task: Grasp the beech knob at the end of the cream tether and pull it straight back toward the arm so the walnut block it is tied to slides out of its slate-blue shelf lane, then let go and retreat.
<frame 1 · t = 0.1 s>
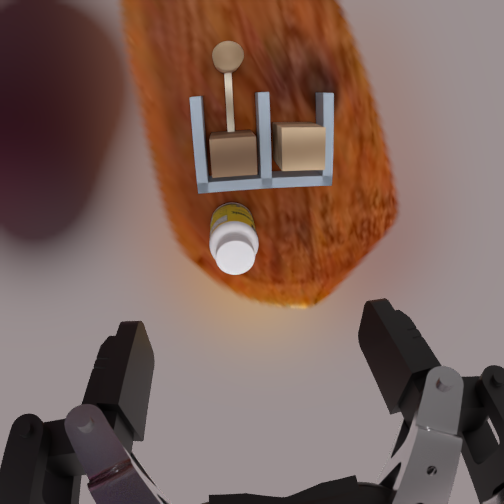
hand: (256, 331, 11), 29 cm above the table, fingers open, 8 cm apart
lane shelf: (261, 133, 35), on the table
oak block: (291, 140, 36), resting in lane shelf
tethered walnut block: (231, 147, 35), on the table
supplement bottle: (231, 220, 40), on the table
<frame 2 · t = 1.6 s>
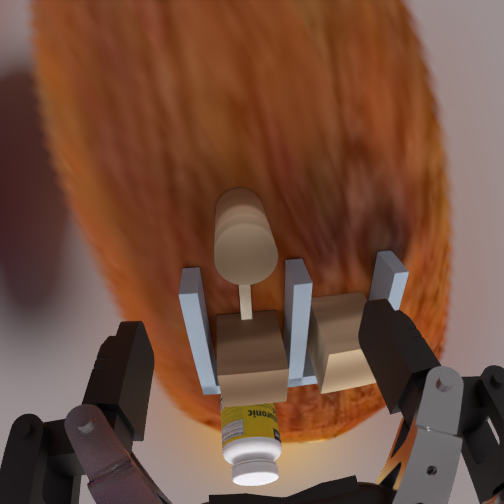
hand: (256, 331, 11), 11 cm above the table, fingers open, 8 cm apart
lane shelf: (291, 312, 25), on the table
oak block: (332, 316, 25), resting in lane shelf
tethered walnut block: (247, 330, 25), on the table
supplement bottle: (246, 393, 30), on the table
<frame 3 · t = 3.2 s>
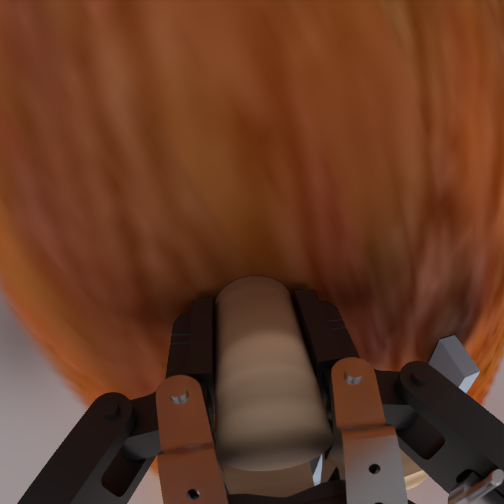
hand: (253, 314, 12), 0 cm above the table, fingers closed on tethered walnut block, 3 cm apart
lane shelf: (319, 415, 17), on the table
oak block: (369, 410, 17), resting in lane shelf
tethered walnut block: (259, 434, 17), on the table, touching gripper
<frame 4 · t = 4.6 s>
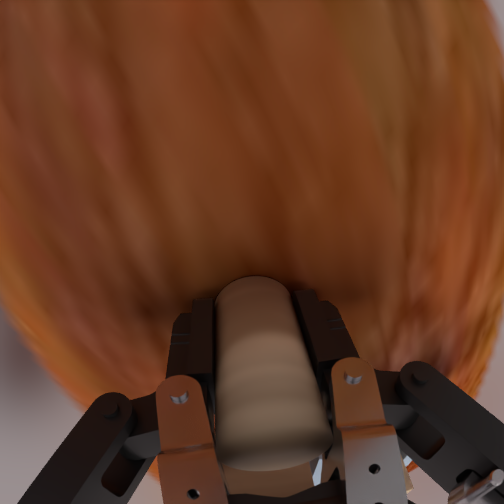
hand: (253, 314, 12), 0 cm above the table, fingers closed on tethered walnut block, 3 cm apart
lane shelf: (310, 448, 19), on the table
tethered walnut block: (259, 434, 17), on the table, touching gripper
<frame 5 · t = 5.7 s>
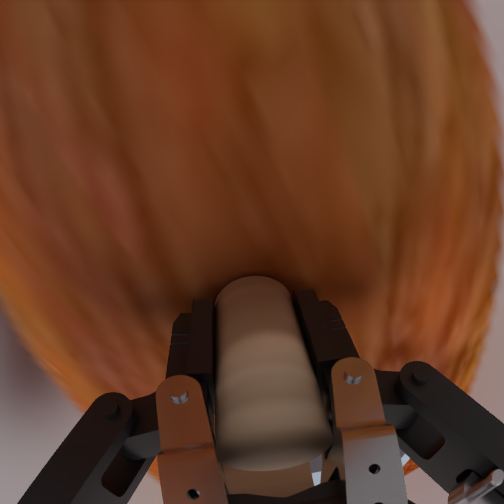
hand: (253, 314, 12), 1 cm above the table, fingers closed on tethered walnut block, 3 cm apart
lane shelf: (305, 460, 21), on the table
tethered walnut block: (259, 434, 17), on the table, touching gripper
when the fingers open (1 cm above the table, at t = 6.4 s): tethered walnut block stays where it is, on the table.
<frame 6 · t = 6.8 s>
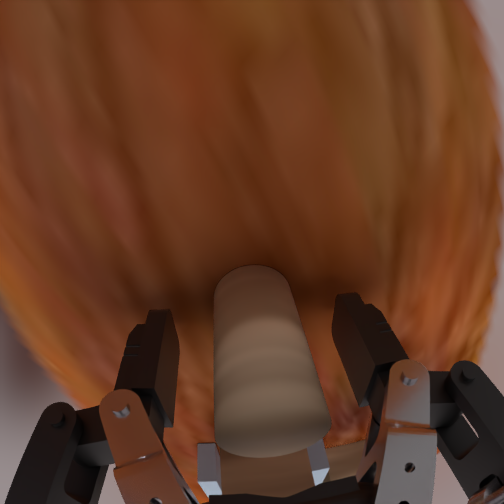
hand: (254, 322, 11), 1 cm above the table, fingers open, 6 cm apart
lane shelf: (305, 458, 21), on the table
oak block: (344, 453, 22), resting in lane shelf
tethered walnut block: (258, 427, 17), on the table
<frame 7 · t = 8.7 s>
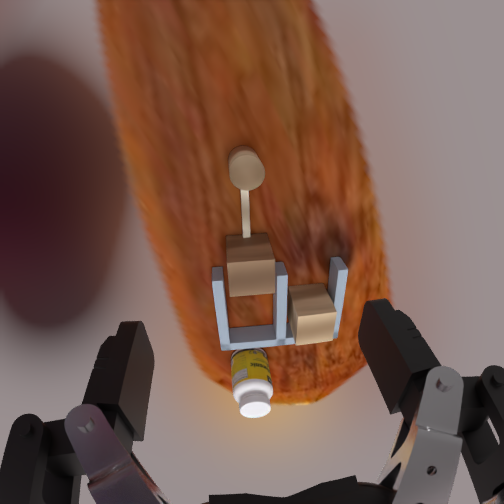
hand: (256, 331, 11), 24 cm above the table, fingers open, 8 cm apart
lane shelf: (277, 295, 40), on the table
oak block: (304, 298, 40), resting in lane shelf
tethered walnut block: (247, 250, 36), on the table
supplement bottle: (248, 355, 45), on the table
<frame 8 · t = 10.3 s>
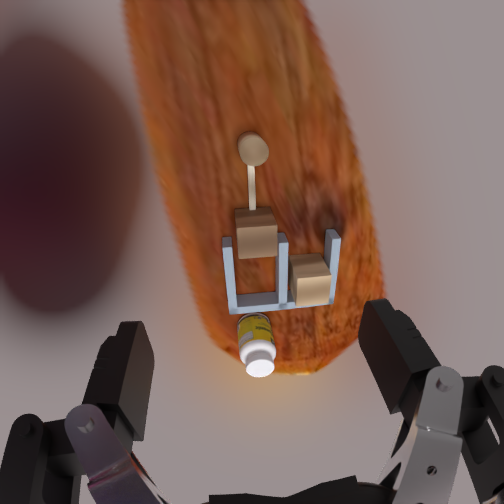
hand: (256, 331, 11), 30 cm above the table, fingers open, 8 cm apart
lane shelf: (279, 264, 45), on the table
oak block: (303, 267, 46), resting in lane shelf
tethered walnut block: (252, 221, 42), on the table
supplement bottle: (253, 322, 50), on the table
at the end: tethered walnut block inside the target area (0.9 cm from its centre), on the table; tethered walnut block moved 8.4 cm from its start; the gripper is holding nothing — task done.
